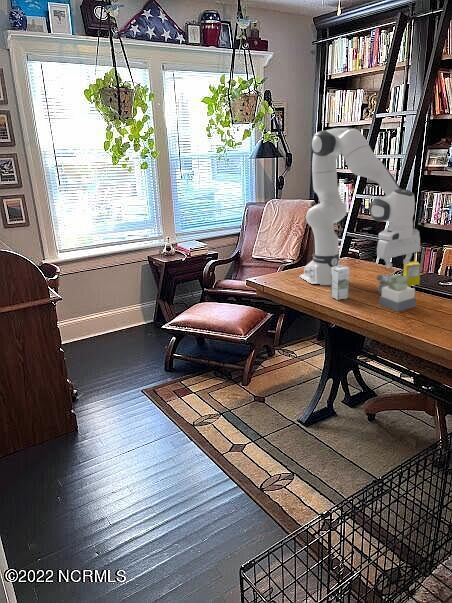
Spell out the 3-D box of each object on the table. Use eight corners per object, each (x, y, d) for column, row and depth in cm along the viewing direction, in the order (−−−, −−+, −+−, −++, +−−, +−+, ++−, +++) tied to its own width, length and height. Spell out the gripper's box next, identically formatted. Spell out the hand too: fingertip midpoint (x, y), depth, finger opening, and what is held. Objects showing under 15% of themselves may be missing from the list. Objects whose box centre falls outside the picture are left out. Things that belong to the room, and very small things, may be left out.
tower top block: (381, 296, 189) (381, 287, 188) (397, 292, 193) (398, 283, 191) (397, 302, 182) (398, 293, 180) (414, 297, 185) (414, 288, 184)
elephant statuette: (382, 297, 200) (383, 280, 197) (368, 287, 211) (369, 272, 208) (400, 294, 201) (402, 278, 198) (386, 285, 212) (387, 270, 209)
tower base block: (379, 305, 190) (379, 296, 189) (396, 300, 194) (397, 292, 193) (397, 312, 182) (398, 303, 180) (415, 307, 186) (416, 298, 184)
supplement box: (415, 283, 212) (417, 261, 209) (419, 287, 207) (421, 264, 203) (402, 284, 213) (403, 261, 209) (405, 288, 207) (407, 265, 204)
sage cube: (388, 288, 187) (388, 276, 185) (397, 285, 189) (398, 274, 187) (397, 291, 182) (398, 279, 181) (406, 288, 184) (407, 277, 183)
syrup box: (341, 295, 205) (342, 264, 200) (349, 299, 199) (349, 267, 194) (330, 297, 203) (330, 266, 198) (337, 301, 198) (338, 269, 193)
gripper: (413, 227, 185) (410, 259, 190) (375, 234, 176) (373, 268, 181) (425, 229, 179) (422, 263, 184) (387, 237, 171) (384, 272, 176)
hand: (397, 265), depth 183 cm, fingers open, 8 cm apart
